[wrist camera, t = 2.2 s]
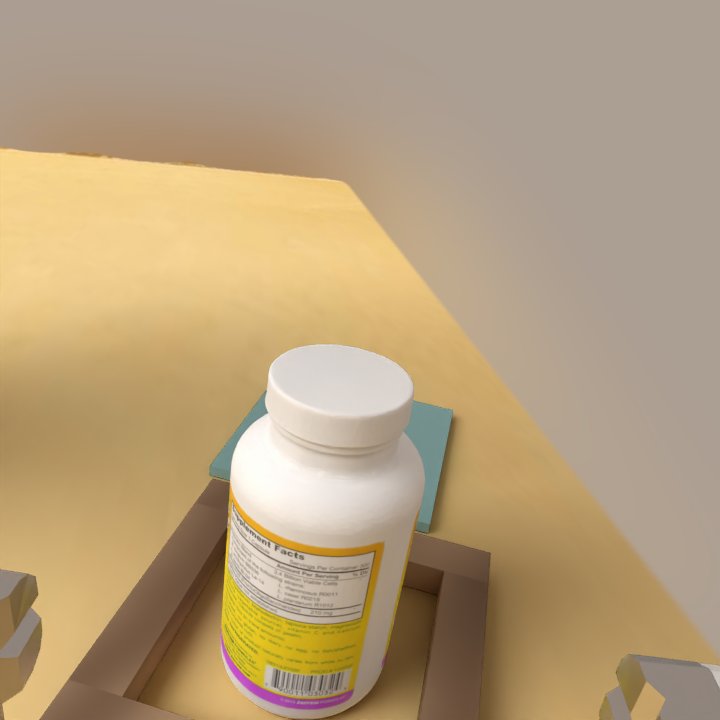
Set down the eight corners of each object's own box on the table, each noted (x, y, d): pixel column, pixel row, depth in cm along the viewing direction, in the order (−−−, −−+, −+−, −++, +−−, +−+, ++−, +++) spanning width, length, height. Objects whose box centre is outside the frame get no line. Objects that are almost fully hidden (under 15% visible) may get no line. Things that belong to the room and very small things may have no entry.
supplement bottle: (308, 566, 31) (345, 315, 26) (416, 660, 28) (488, 392, 22) (183, 641, 27) (194, 357, 21) (292, 767, 23) (342, 463, 17)
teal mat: (209, 474, 36) (210, 465, 36) (281, 376, 47) (282, 369, 47) (427, 533, 35) (430, 524, 34) (451, 417, 45) (453, 410, 45)
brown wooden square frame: (33, 761, 22) (30, 732, 21) (211, 502, 34) (212, 478, 34) (455, 904, 20) (466, 878, 19) (483, 576, 32) (490, 552, 32)
